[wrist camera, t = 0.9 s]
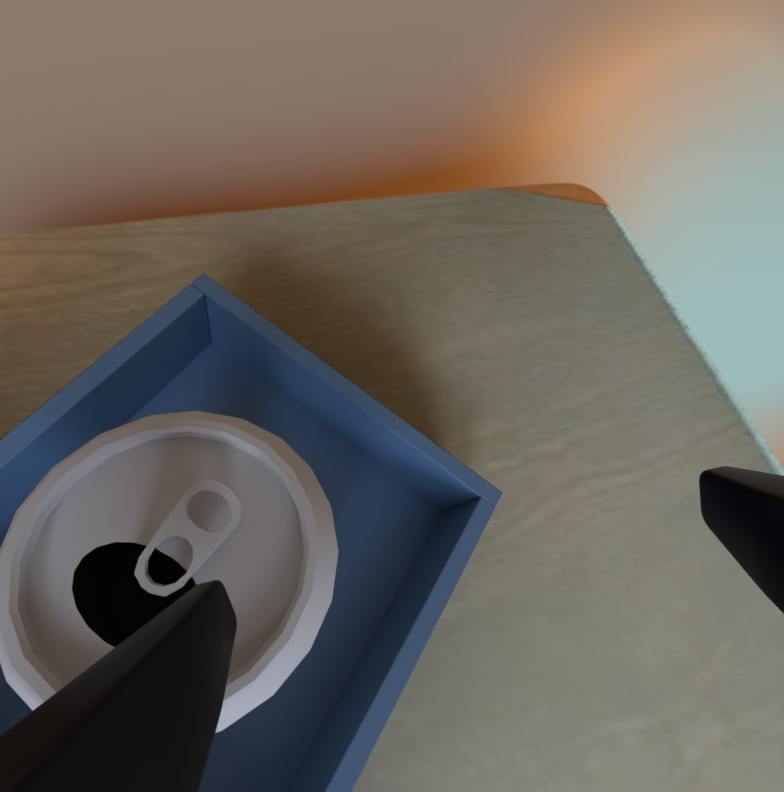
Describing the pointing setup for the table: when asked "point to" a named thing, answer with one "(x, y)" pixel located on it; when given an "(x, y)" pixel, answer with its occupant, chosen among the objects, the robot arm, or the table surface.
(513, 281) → the table surface
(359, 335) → the table surface
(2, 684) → the tub
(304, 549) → the can
